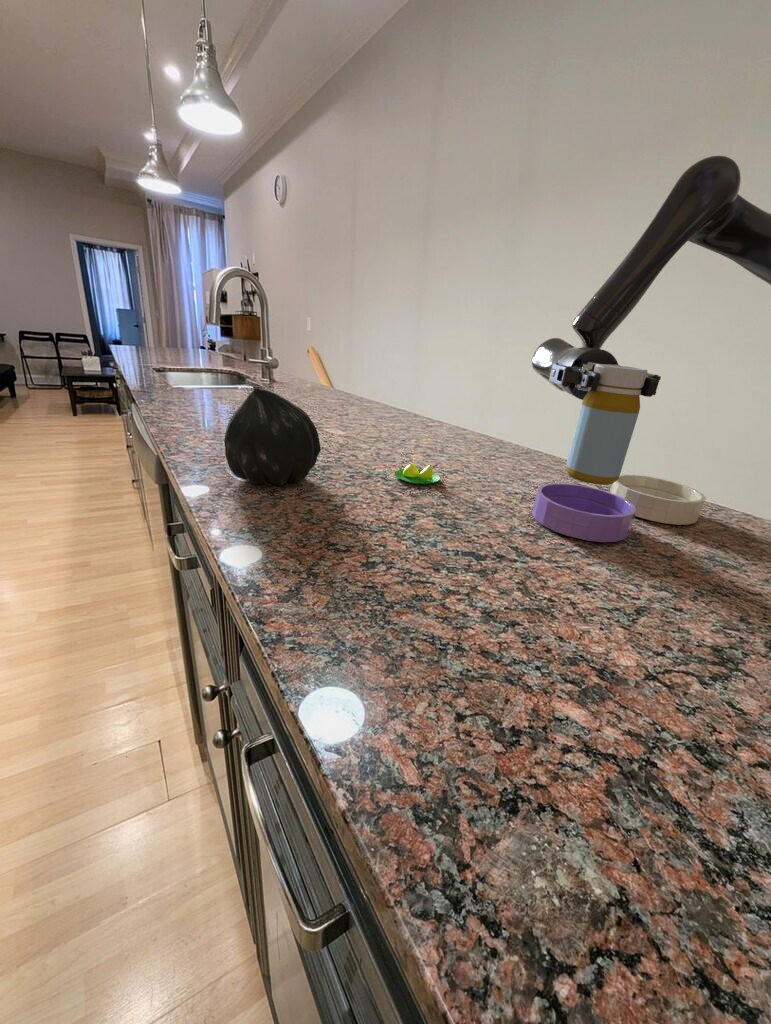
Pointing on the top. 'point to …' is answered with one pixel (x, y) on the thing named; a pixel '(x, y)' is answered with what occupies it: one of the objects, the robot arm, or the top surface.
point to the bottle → (606, 425)
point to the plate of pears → (417, 475)
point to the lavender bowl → (583, 512)
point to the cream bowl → (660, 499)
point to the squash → (270, 440)
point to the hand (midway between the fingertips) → (623, 385)
